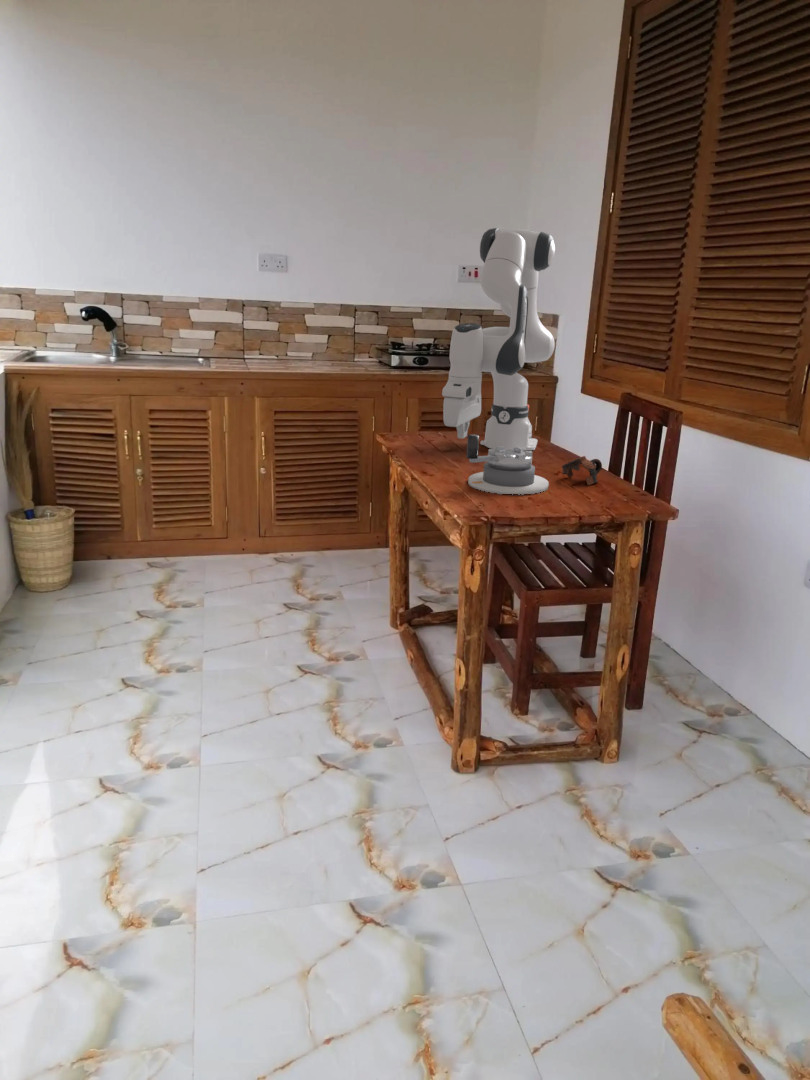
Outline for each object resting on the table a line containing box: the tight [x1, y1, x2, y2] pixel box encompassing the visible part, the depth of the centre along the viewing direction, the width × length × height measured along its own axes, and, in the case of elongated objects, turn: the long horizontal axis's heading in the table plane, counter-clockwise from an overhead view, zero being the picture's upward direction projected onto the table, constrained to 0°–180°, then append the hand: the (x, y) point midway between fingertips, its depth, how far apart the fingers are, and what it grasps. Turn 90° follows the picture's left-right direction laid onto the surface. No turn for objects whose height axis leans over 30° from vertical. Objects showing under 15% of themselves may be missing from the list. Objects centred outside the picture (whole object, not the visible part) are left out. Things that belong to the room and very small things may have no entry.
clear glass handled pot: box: [466, 433, 533, 470], centre depth 217 cm, size 12×20×9 cm, turn 116°
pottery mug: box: [561, 455, 603, 486], centre depth 228 cm, size 12×10×8 cm
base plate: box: [467, 461, 550, 496], centre depth 221 cm, size 22×22×5 cm
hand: (462, 437), depth 219 cm, fingers closed
